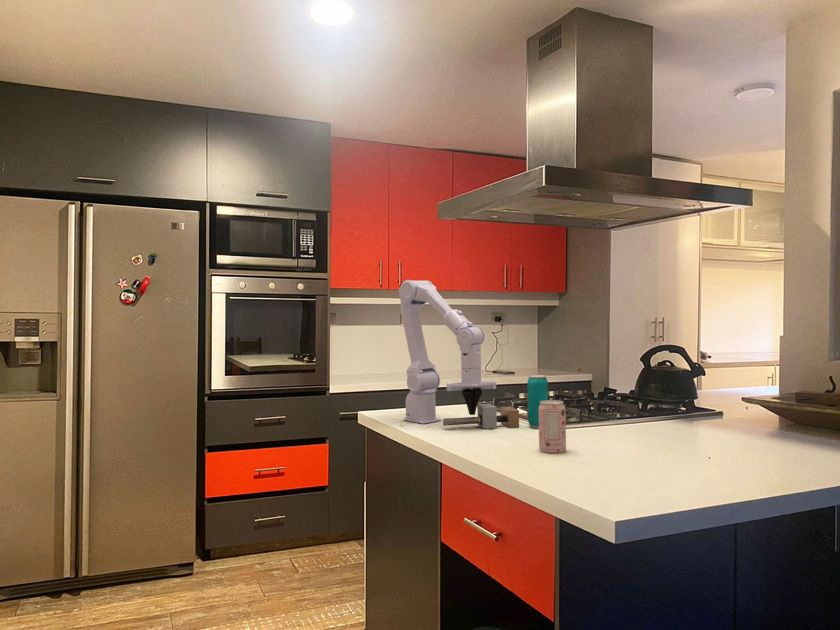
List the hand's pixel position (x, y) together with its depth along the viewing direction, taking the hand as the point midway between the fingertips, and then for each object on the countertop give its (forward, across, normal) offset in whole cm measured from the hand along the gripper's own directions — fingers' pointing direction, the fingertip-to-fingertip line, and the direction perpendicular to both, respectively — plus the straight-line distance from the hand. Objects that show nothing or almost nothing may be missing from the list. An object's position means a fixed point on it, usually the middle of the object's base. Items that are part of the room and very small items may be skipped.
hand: (471, 414), depth 187 cm
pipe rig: (+4, +2, 0) cm, 5 cm away
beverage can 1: (+4, +19, -5) cm, 20 cm away
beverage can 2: (+4, +11, -33) cm, 35 cm away
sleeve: (+4, +4, 0) cm, 6 cm away
